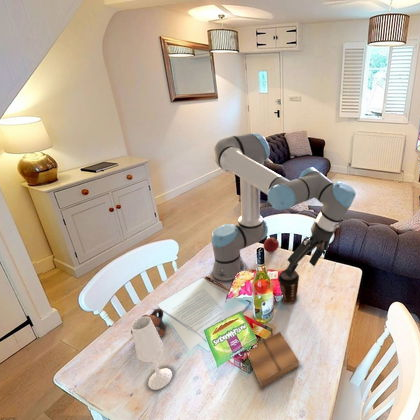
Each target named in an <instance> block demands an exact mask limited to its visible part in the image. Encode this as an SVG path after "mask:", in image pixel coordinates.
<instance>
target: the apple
mask: <svg viewBox="0 0 420 420" xmlns="http://www.w3.org/2000/svg"><path fill="white" fill-rule="evenodd" d="M279 246H280V243H279V240H278V239H277V238H275V237H268V238H265V241H264V242H263V249H264V250H265V251H266V252H267V253H274V252H276V251H277V250H278V249H279Z"/></svg>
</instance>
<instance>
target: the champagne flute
mask: <svg viewBox="0 0 420 420" xmlns="http://www.w3.org/2000/svg"><path fill="white" fill-rule="evenodd" d="M140 317H141V318H140ZM140 317H138V318H136V319H135V320H134V321H133V322H132V323H131V327H130V328H131V329H132V333H133V335H132V339H133V342H134V347H135V352H136V357H137V359H138V360H139V362H141V363H142V362H144V363H152V366H153V368H154V371H155V372H154V373H153V374H151V376H150V377H149V379H148V383H147V385H148V388H150V389H151V390H153V391H154V390H155V391H156V390H161V389H162V388H164V387H166V386H167V385H168V384H169V383H170V382H171V380H172V378H173V372H172V370H171V369H169V368H167V367H166V368H165V367H164V368H160V366H159V363H158V360H157V359H159V357H160V356H161V355H162V353H163V351H164V343H163V340H162V337H161V336H160V335H159V334H158V332H159V331H158V330H157V327H156V328H155V326H154V324H153V322H152V320H151V318H150V317H147V316H145V317H142V316H140Z"/></svg>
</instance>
